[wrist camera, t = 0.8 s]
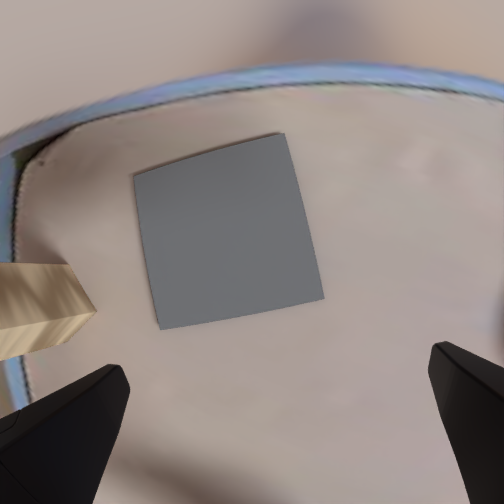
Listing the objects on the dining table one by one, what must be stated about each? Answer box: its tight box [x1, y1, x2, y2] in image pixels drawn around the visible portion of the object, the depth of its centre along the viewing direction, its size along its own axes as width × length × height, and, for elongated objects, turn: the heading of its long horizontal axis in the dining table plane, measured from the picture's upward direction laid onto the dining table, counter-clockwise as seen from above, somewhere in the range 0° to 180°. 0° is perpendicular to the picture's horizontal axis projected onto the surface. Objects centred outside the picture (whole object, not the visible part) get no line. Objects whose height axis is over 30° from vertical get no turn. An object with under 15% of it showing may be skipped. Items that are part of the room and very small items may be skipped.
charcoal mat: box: [134, 133, 325, 330], centre depth 22 cm, size 12×12×1 cm
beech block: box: [0, 262, 97, 361], centre depth 18 cm, size 5×5×12 cm
